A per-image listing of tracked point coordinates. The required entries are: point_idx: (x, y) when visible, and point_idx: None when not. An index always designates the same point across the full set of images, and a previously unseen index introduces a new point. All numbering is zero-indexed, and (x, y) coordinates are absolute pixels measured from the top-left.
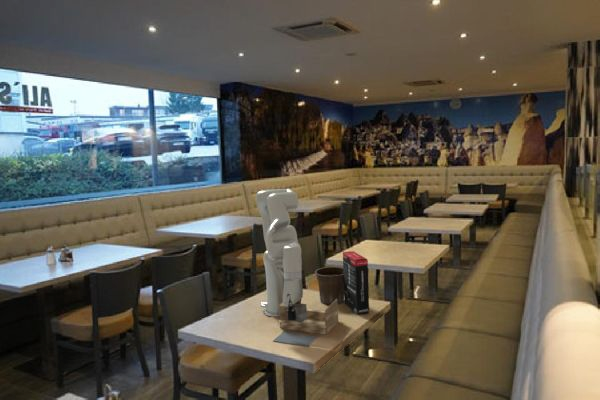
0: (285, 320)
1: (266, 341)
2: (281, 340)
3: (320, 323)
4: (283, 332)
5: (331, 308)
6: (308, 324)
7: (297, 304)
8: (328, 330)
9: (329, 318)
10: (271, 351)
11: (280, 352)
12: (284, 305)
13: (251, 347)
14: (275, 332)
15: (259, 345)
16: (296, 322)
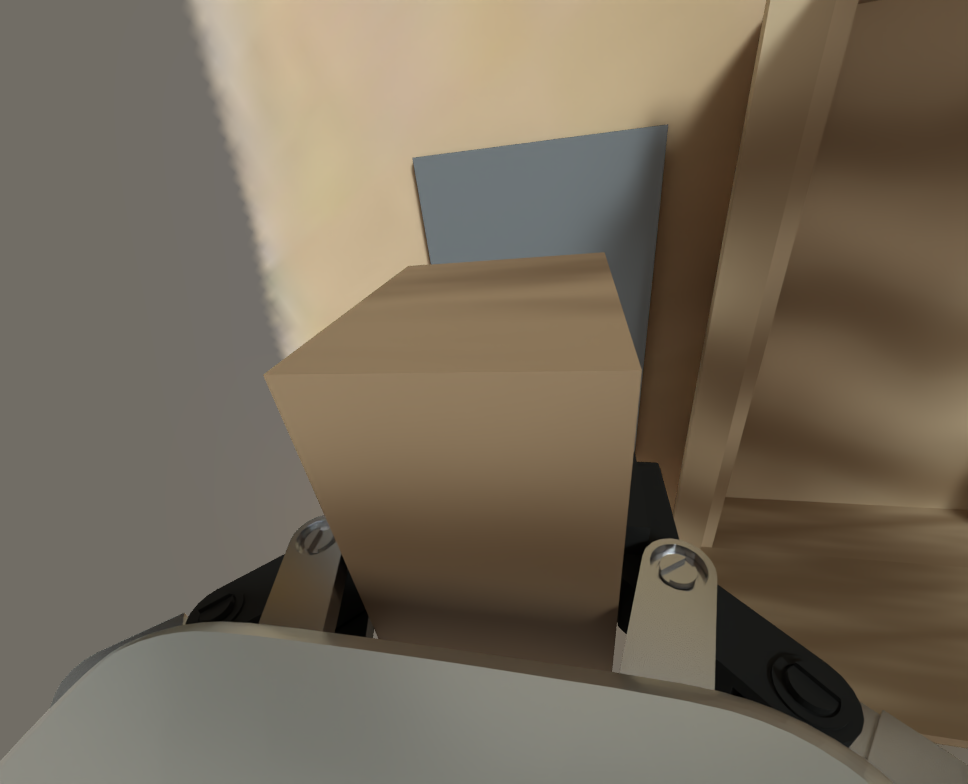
0: (830, 83)
1: (385, 81)
2: (453, 236)
3: (955, 405)
4: (635, 145)
5: (935, 697)
6: (714, 425)
7: (542, 658)
8: (727, 515)
9: (801, 598)
10: (277, 255)
11: (308, 323)
12: (358, 479)
13: (203, 12)
14: (638, 16)
15: (282, 70)
16: (759, 287)
